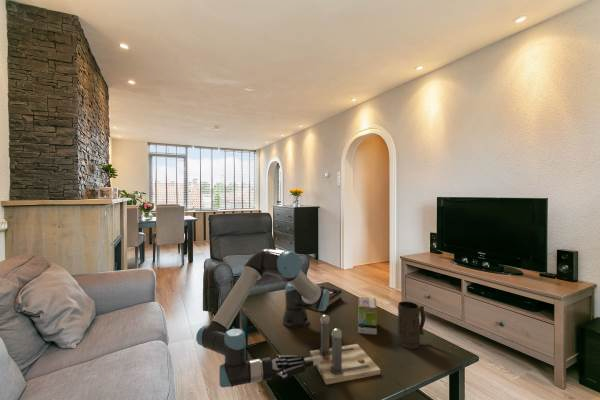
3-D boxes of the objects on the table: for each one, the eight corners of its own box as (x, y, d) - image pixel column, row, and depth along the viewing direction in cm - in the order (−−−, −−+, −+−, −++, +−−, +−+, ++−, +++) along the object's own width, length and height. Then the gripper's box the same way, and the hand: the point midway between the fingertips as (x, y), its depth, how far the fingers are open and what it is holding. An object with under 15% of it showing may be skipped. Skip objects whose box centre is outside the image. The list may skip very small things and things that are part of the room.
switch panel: (310, 355, 131) (310, 350, 131) (357, 347, 137) (357, 343, 137) (326, 384, 111) (326, 378, 111) (380, 374, 117) (380, 368, 117)
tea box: (377, 335, 150) (377, 307, 150) (358, 333, 152) (358, 306, 152) (375, 322, 165) (375, 297, 164) (358, 321, 167) (358, 296, 166)
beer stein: (408, 351, 134) (410, 309, 134) (391, 341, 143) (393, 301, 144) (430, 345, 141) (432, 305, 141) (412, 336, 150) (414, 298, 151)
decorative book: (298, 295, 189) (321, 284, 214) (298, 306, 189) (321, 294, 214) (323, 301, 178) (344, 288, 203) (323, 313, 178) (344, 299, 203)
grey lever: (318, 350, 131) (318, 313, 130) (327, 349, 132) (327, 312, 132) (322, 356, 127) (321, 317, 126) (331, 354, 128) (331, 316, 127)
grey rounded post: (329, 368, 117) (329, 327, 117) (339, 367, 118) (339, 325, 118) (333, 375, 113) (333, 332, 113) (343, 373, 114) (343, 330, 114)
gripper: (259, 369, 114) (314, 360, 120) (263, 390, 101) (325, 379, 107) (259, 350, 114) (314, 342, 120) (263, 370, 101) (325, 359, 107)
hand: (319, 359), depth 114 cm, fingers closed
